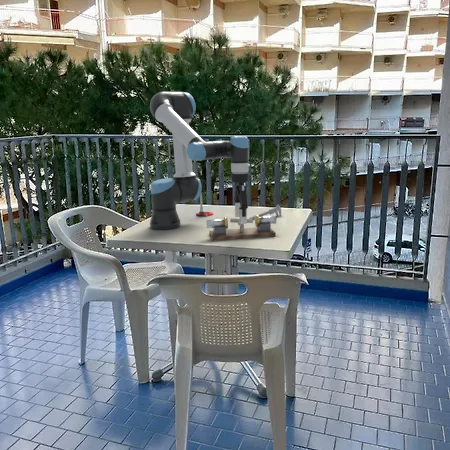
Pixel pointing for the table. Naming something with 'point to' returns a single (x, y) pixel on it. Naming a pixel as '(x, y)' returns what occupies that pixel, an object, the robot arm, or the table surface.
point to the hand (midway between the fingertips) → (240, 220)
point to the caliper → (270, 212)
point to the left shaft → (218, 226)
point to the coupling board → (241, 234)
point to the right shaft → (264, 223)
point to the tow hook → (202, 209)
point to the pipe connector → (239, 222)
